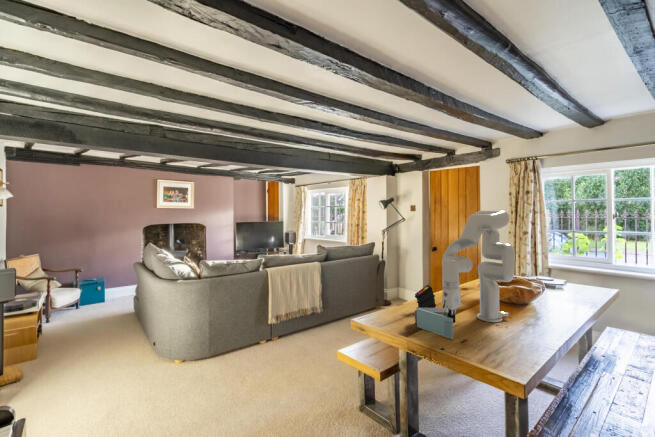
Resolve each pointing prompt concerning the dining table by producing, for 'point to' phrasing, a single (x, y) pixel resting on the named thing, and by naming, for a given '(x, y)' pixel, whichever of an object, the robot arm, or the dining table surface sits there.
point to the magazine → (425, 298)
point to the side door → (435, 323)
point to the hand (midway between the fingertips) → (451, 322)
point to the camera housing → (434, 310)
